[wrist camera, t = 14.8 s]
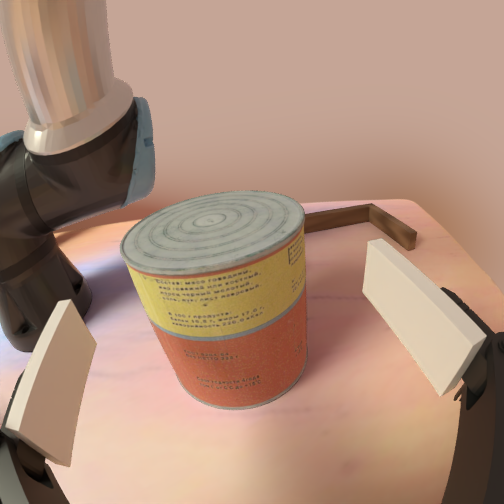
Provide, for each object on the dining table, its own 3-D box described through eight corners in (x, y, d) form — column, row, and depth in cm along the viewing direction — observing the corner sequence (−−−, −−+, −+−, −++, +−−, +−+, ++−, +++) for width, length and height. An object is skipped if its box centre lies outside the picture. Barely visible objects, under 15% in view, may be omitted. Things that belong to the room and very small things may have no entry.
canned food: (320, 319, 24) (319, 190, 19) (283, 427, 15) (267, 285, 10) (212, 302, 29) (186, 192, 23) (151, 382, 20) (85, 257, 14)
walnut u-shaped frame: (414, 248, 32) (417, 231, 31) (279, 282, 30) (277, 262, 29) (371, 217, 42) (371, 203, 41) (258, 238, 41) (256, 222, 39)
